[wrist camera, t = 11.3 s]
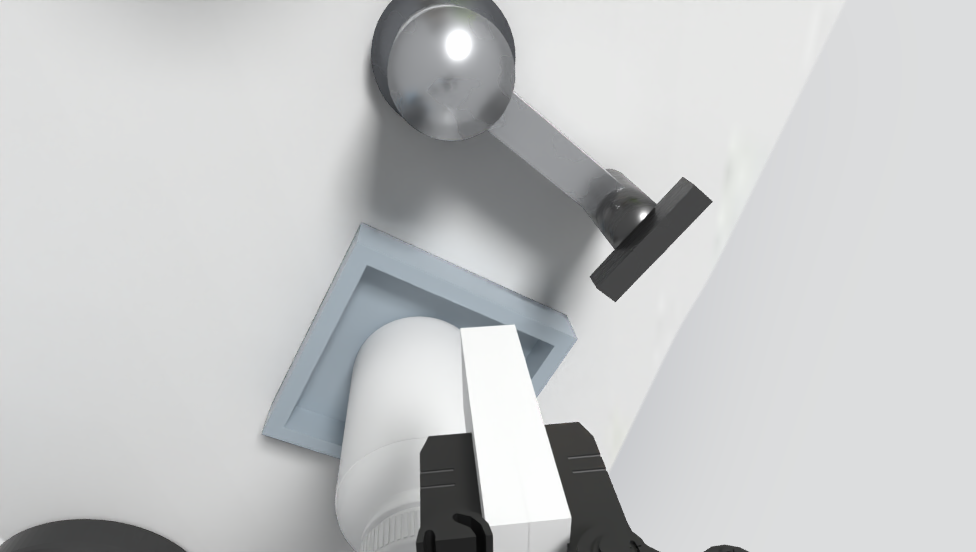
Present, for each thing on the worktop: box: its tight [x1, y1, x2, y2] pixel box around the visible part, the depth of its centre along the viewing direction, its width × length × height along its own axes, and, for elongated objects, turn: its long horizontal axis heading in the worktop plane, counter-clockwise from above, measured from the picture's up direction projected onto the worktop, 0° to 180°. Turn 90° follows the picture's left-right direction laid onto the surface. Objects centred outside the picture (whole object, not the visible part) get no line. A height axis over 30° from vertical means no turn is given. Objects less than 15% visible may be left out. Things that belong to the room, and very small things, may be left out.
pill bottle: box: [335, 316, 466, 552], centre depth 30 cm, size 8×8×15 cm
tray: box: [262, 223, 577, 459], centre depth 36 cm, size 14×14×3 cm
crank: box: [387, 3, 713, 302], centre depth 27 cm, size 15×6×8 cm, turn 51°
